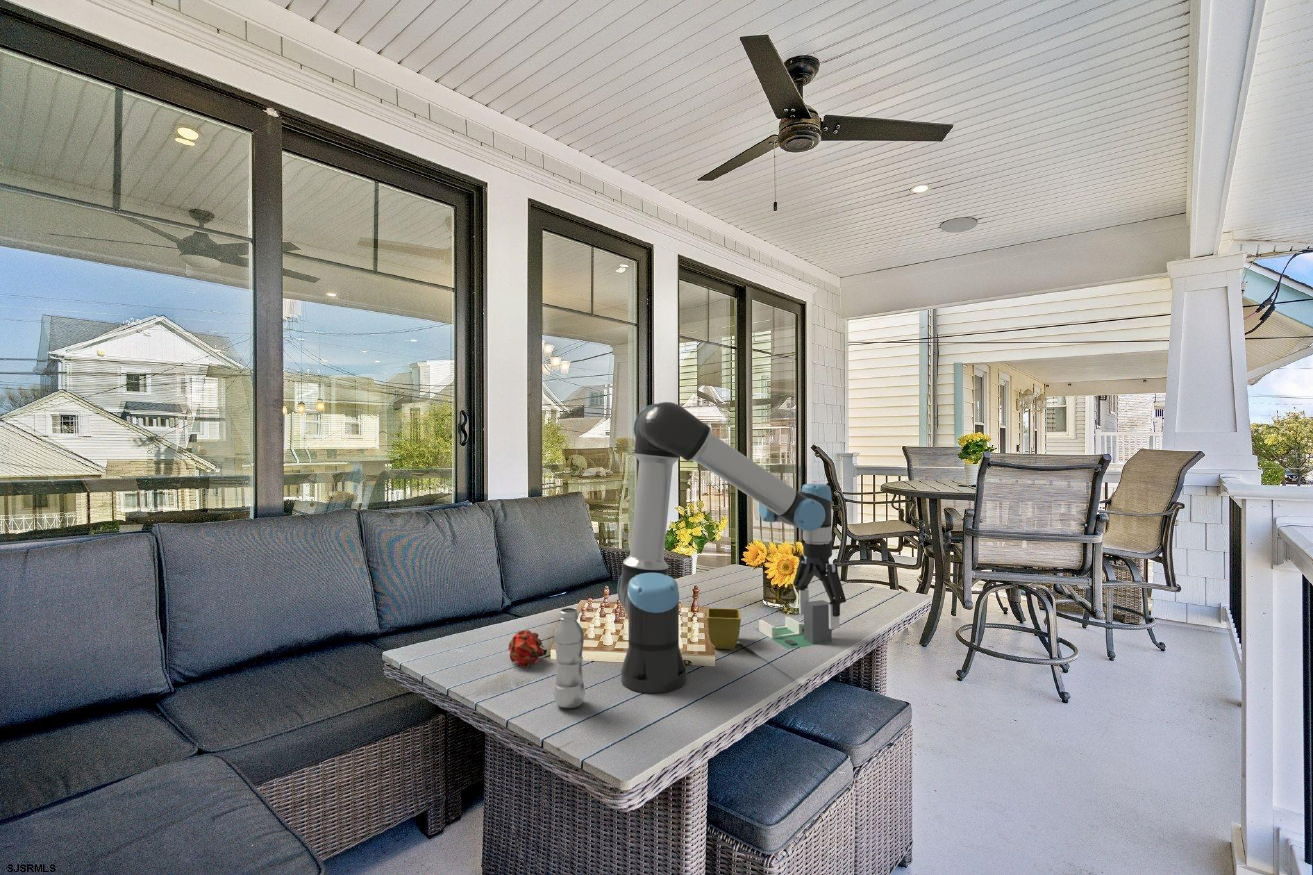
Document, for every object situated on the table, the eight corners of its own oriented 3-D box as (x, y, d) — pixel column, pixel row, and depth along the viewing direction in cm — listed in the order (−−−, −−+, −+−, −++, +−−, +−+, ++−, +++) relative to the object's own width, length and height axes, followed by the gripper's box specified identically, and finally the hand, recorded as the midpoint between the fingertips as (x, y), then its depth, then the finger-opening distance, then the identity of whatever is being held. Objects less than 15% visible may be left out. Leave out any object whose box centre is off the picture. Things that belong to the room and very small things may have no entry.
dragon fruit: (519, 660, 158) (537, 682, 148) (494, 647, 153) (510, 669, 143) (539, 631, 159) (557, 651, 149) (514, 617, 155) (532, 637, 145)
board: (787, 653, 157) (787, 636, 157) (754, 632, 173) (754, 618, 173) (836, 645, 162) (836, 630, 162) (799, 626, 178) (799, 612, 178)
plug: (812, 644, 160) (812, 606, 160) (803, 639, 164) (803, 602, 164) (833, 640, 163) (833, 603, 162) (824, 636, 166) (824, 599, 166)
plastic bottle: (558, 714, 123) (558, 616, 123) (550, 701, 130) (550, 607, 129) (589, 708, 126) (588, 612, 126) (579, 696, 132) (579, 604, 132)
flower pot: (739, 641, 166) (739, 608, 166) (741, 652, 158) (741, 618, 158) (707, 640, 167) (707, 607, 167) (707, 651, 158) (706, 617, 158)
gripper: (859, 548, 153) (860, 632, 153) (802, 533, 176) (803, 606, 176) (834, 551, 150) (835, 636, 150) (780, 535, 173) (781, 609, 174)
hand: (818, 620), depth 163 cm, fingers open, 13 cm apart
